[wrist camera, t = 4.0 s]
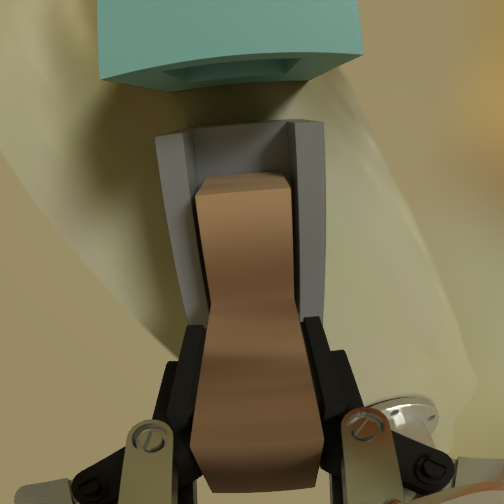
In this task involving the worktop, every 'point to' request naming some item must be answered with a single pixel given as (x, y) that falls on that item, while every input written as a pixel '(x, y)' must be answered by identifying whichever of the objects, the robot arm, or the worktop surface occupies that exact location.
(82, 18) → the worktop surface
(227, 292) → the rod
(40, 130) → the worktop surface
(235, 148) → the guide channel
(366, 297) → the worktop surface
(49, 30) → the worktop surface
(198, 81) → the teal rectangular block
